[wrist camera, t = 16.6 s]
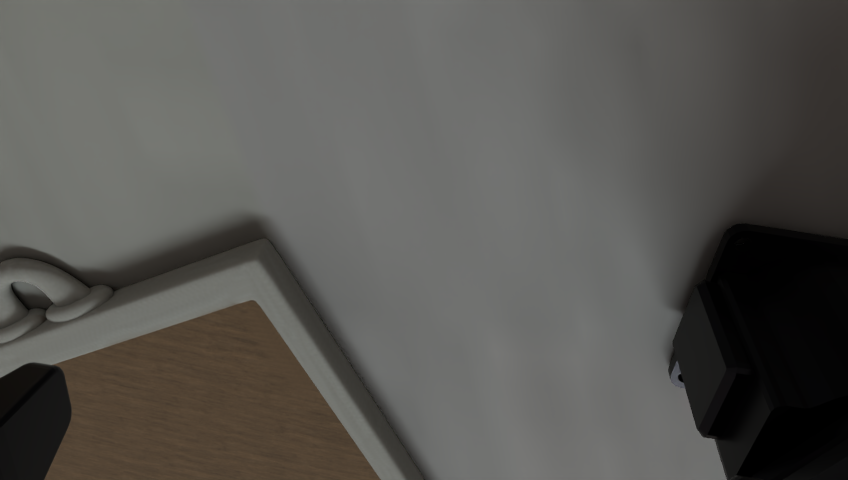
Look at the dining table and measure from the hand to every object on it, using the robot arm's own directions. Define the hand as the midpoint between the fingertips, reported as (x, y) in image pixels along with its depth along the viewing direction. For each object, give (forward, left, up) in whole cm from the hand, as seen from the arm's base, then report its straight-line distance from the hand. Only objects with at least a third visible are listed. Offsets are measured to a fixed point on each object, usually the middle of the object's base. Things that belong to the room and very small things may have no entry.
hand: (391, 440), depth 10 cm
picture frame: (+7, +22, -14) cm, 27 cm away
